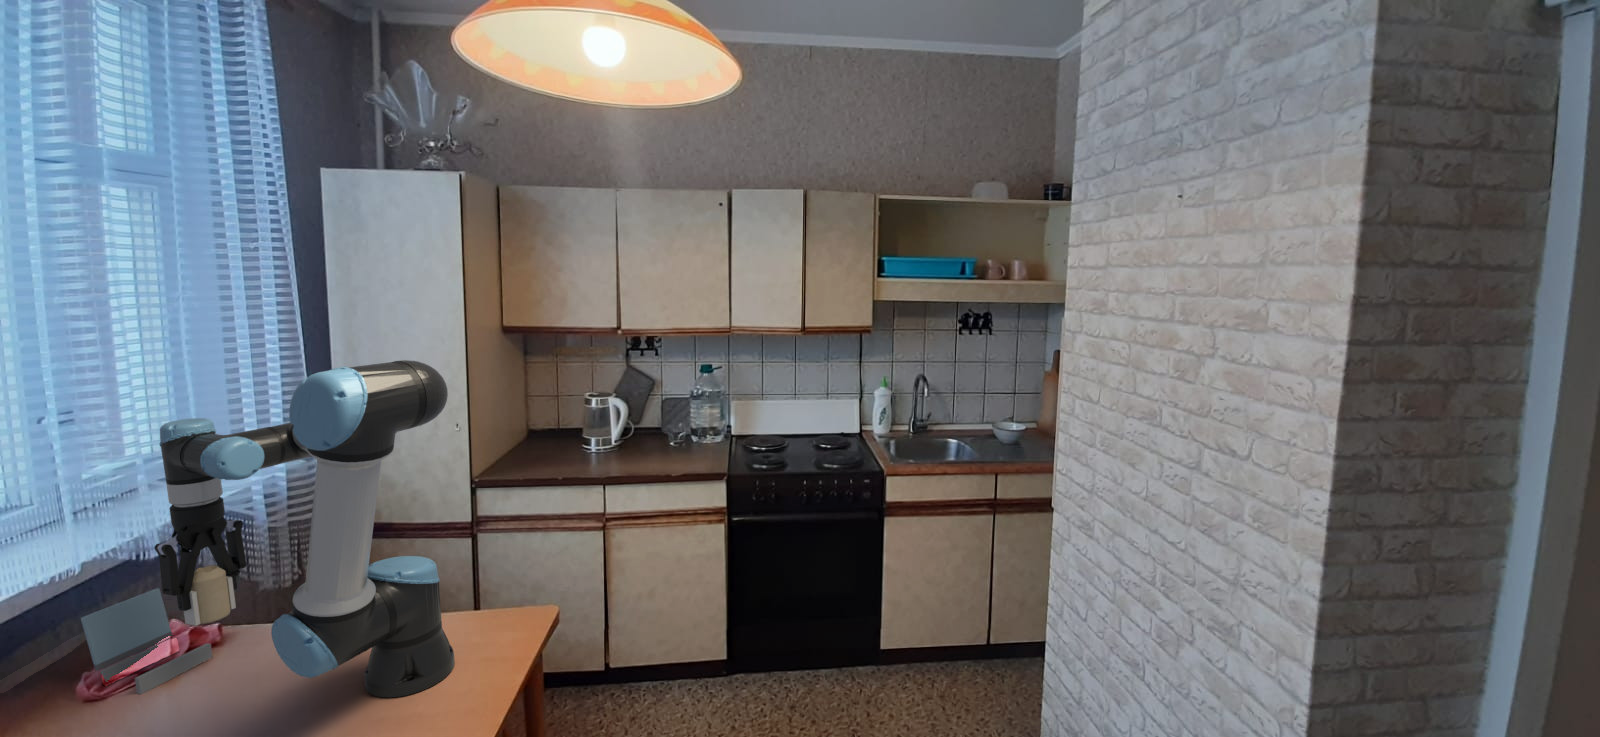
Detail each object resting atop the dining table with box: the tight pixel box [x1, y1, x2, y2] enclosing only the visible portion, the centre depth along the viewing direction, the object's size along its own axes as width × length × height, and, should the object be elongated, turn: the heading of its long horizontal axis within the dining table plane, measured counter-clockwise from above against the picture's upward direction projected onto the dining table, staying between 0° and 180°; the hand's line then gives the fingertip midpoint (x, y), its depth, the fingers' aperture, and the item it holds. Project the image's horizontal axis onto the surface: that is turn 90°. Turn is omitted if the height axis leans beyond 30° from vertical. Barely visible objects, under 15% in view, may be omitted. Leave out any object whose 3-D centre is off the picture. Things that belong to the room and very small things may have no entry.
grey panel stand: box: [99, 642, 213, 695], centre depth 128 cm, size 10×12×3 cm
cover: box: [80, 587, 174, 672], centre depth 129 cm, size 11×12×1 cm
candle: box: [191, 564, 231, 625], centre depth 126 cm, size 6×6×10 cm
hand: (211, 615), depth 127 cm, fingers closed on candle, 5 cm apart
